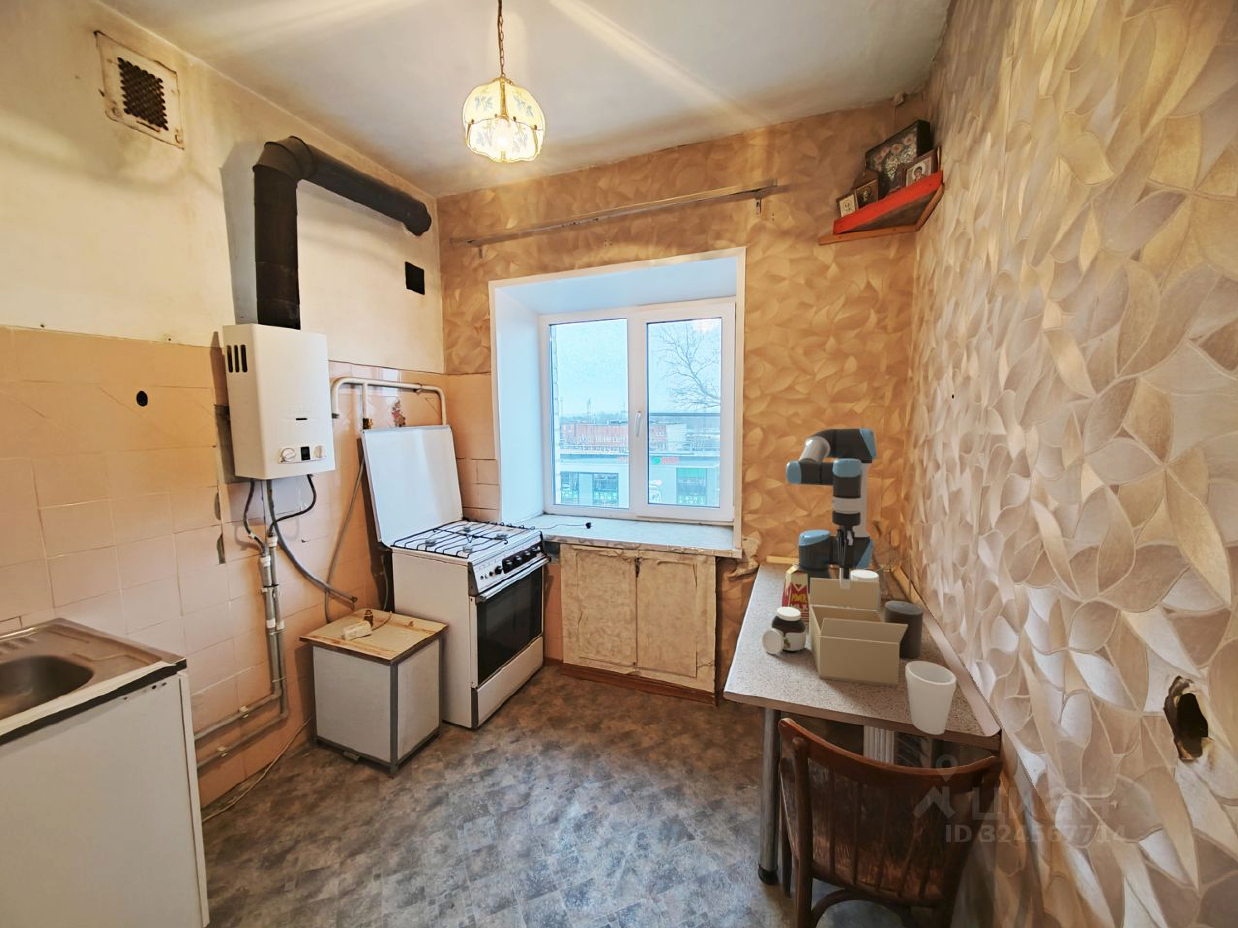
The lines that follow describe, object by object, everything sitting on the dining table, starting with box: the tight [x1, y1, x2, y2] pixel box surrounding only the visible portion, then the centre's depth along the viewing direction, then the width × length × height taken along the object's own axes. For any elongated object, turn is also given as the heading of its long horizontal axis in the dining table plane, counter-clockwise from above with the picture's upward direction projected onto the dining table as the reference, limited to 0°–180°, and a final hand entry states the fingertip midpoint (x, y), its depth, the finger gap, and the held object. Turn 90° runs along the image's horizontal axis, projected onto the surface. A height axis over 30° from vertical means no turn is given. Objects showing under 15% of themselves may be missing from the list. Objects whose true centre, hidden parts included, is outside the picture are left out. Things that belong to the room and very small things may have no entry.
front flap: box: [820, 618, 908, 643], centre depth 116 cm, size 9×19×1 cm
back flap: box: [809, 578, 881, 609], centre depth 136 cm, size 9×19×1 cm
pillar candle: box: [883, 600, 924, 660], centre depth 134 cm, size 10×10×15 cm
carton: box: [808, 604, 900, 688], centre depth 129 cm, size 20×19×12 cm
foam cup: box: [904, 660, 957, 735], centre depth 103 cm, size 10×9×13 cm
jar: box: [846, 568, 882, 615], centre depth 150 cm, size 10×10×18 cm
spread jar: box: [761, 606, 807, 655], centre depth 137 cm, size 12×11×12 cm
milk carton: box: [780, 562, 810, 626], centre depth 156 cm, size 9×9×20 cm
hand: (844, 587), depth 135 cm, fingers closed
